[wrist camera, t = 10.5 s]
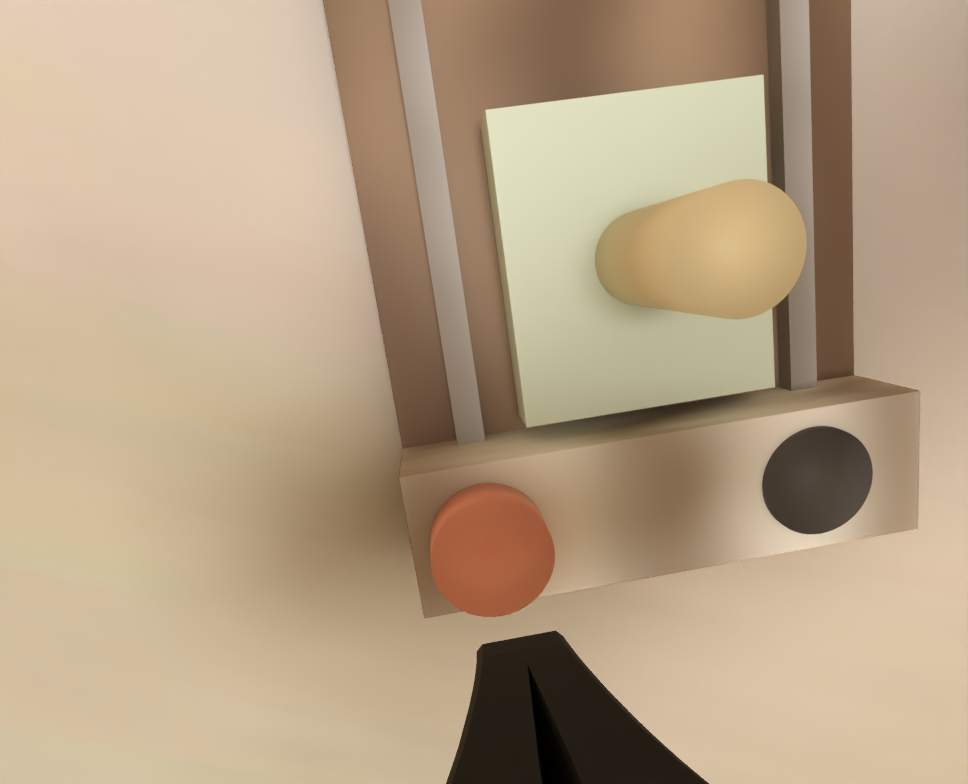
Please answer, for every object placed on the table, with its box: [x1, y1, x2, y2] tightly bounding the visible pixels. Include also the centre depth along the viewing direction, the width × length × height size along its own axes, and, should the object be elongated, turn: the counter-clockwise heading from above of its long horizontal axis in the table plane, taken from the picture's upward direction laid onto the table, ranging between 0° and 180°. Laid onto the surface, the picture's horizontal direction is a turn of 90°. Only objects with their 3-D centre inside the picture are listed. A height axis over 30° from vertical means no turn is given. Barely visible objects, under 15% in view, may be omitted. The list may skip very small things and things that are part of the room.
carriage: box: [480, 75, 807, 428], centre depth 13 cm, size 7×8×6 cm
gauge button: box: [430, 483, 555, 617], centre depth 15 cm, size 3×3×1 cm
